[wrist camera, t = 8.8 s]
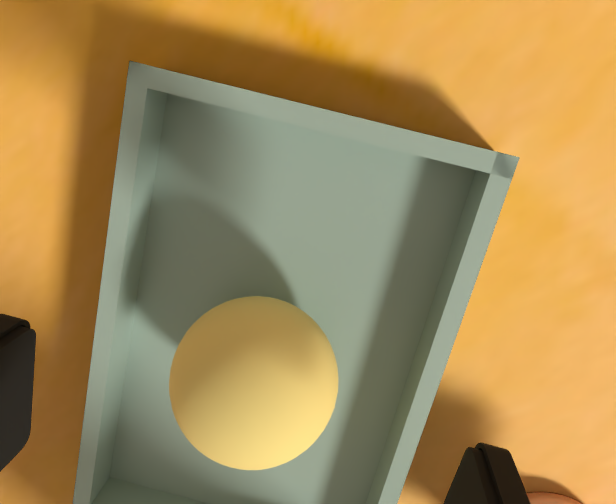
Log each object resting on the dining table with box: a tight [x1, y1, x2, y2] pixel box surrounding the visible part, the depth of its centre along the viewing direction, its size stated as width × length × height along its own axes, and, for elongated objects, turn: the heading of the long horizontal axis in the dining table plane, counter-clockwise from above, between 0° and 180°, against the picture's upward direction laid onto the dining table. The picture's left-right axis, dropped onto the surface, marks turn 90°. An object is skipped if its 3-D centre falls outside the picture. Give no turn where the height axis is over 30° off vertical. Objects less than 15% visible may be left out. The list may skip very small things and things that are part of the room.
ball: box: [169, 296, 338, 470], centre depth 15 cm, size 5×5×5 cm
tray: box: [73, 61, 519, 504], centre depth 17 cm, size 16×11×2 cm
